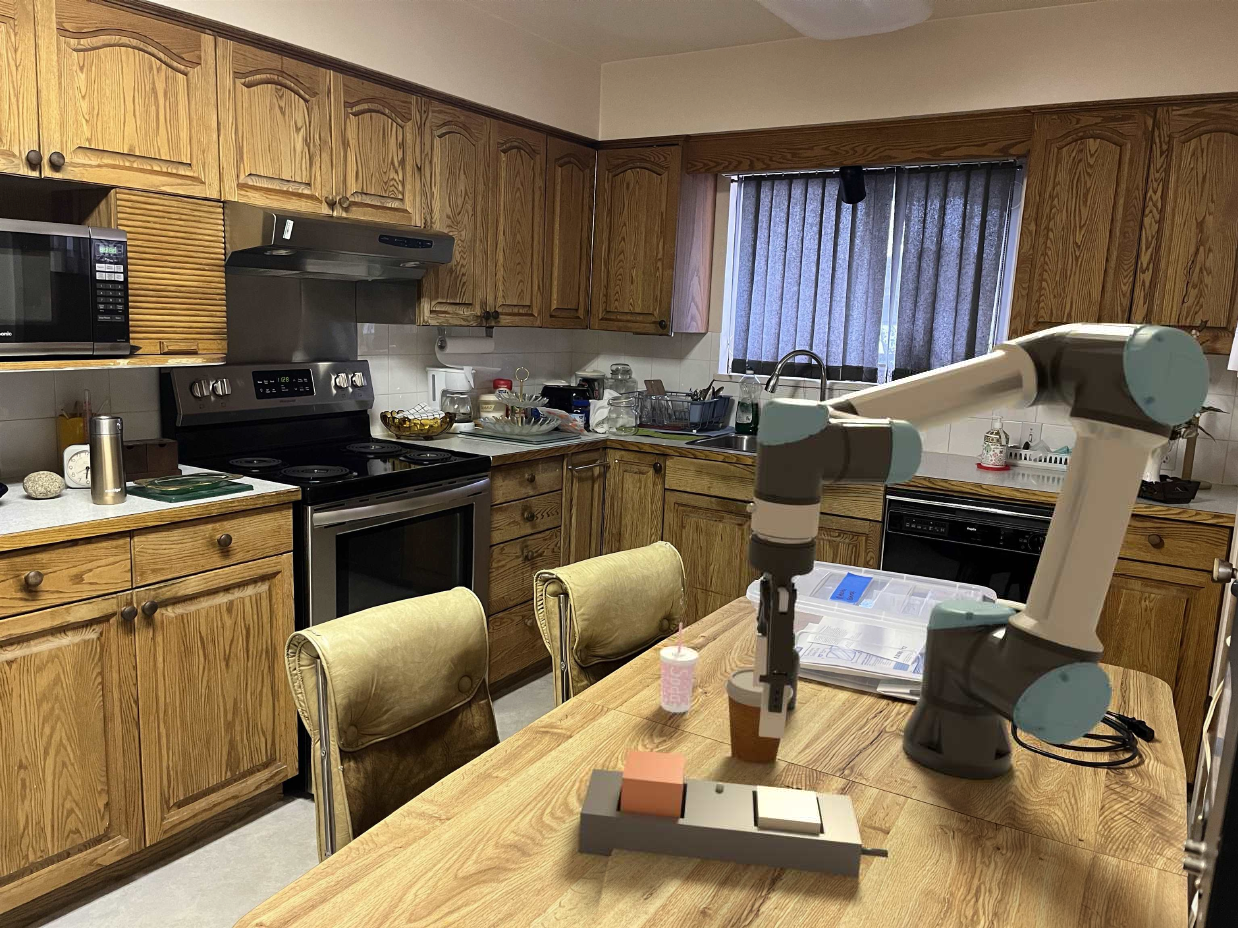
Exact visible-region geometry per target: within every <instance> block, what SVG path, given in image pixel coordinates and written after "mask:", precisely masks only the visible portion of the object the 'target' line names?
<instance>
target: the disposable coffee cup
mask: <svg viewBox="0 0 1238 928" xmlns="http://www.w3.org/2000/svg"><path fill="white" fill-rule="evenodd" d="M753 673H754V667H747V668H746V667H745V668H739V669H737V670H734V671H732V672H730V674H729V676H728V678H727V681H726V682H725V684H724V685H725V690H726V693H727V695H728V699H727V700H728V713H729V714H728V715H729V733H730V753H731V756H730V757H731V758H736V759H738V760H740V761H742V762H746V763H749V764H755V765H762V764H763V765H764V764H768V763H771V762H777V761H776V760H777V756H778V752H779V748H780V743H781V739H782V738H771V737H761V736H759V725H760V713H761V702H762V691H763V687H753ZM792 696H793V690H792V688H791V686H789V689H788V699H787V708H788V703H789V701H790V699H791V697H792ZM787 712H788V710H786V713H787Z"/></svg>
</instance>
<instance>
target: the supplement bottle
mask: <svg viewBox="0 0 1238 928" xmlns="http://www.w3.org/2000/svg"><path fill="white" fill-rule="evenodd" d="M795 646H796V634H795V632H793V656H792V678H793V681H792V685H791V688H792V690H793V696H792V697H791V699H790V701H789V703H788V708H787V711H789V710H792V709H793V708H794V707H795V706H796V703H797V694H798V686H799V685H798V684H799V674H800V673H799V672H800V664H801V661H800V659H801V656H800V653H799V651H798V650H797V649H795ZM776 672H778V673H784V672H780V671H776Z"/></svg>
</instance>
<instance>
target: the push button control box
mask: <svg viewBox="0 0 1238 928" xmlns="http://www.w3.org/2000/svg"><path fill="white" fill-rule="evenodd" d="M623 772H624V771H617V770H608V769H600V768H593V769H592V771H591V775H590V779H589V782H588V785H587V789H586V793H585V795H584V800H583V801H582V802H583V803H582V806H581V810H580V814H579V830H578V832H579V833H578V835H579V837H578V853H584V854H591V855H598V856H599V855H600V856H607V857H608V856H609V857H612V855H613V851H614V850H621V851H631V852H639V853H647V854H656V855H657V854H658V855H664V856H665V855H666V856H672V857H673V856H674V857H682V858H690V859H691V858H692V859H699V860H707V861H708V860H709V861H710V860H711V861H716V862H726V863H735V864H742V865H743V864H744V865H751V866H753V865H754V866H761V867H771V868H777V869H779V868H780V869H786V870H787V869H788V870H796V871H803V872H805V871H806V872H811V873H813V872H814V873H819V874H820V873H823V874H830V875H837V876H838V875H839V876H847V877H856V878H858V877H860V867H861V861H862V860H861V858H862V855H865V856H877V857H884V858H888V857H889V851H888V849H884V848H883V849H882V848H875V847H866V846H865V847H864V846H863V843H862V838H861V834H860V830H859V826H858V823H857V822H858V821H857V819H856V814H855V811H854V805H853V802H852V798H851V795H847V794H846V795H844V794H834V793H828V792H827V793H826V792H816V791H814V792H815V794H816V800H817V805H818V811H819V817H820V822H821V825H820V834H819V833H809V832H800V831H791V830H782V829H773V828H764V827H755V826H754V816H755V804H756V792H757V786H758V785H751V784H742V783H741V784H740V783H732V782H724V781H723V782H721V781H712V780H705V779H704V780H703V779H695V778H694V779H693V778H685V777H684V780H683V794H682V805H681V814H684V818H681V817H680V818H674V817H665V816H655V815H646V814H637V813H628V812H620V810H621V792H622V777H623Z"/></svg>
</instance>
